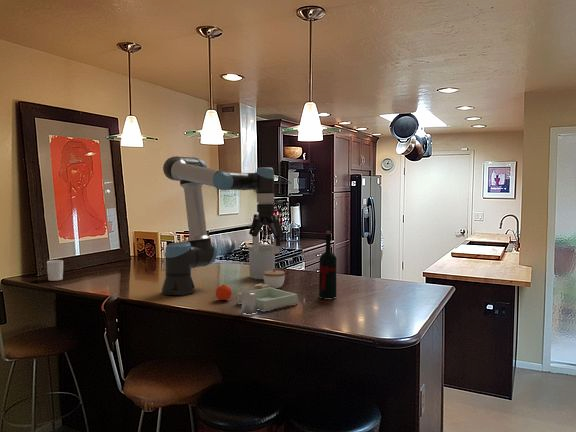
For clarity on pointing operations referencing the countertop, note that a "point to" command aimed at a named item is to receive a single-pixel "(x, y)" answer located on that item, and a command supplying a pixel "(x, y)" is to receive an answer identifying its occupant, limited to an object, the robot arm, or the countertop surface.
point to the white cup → (55, 270)
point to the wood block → (260, 286)
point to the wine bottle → (327, 271)
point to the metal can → (249, 302)
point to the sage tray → (272, 298)
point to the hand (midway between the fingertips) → (266, 252)
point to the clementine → (223, 292)
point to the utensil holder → (261, 260)
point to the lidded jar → (274, 278)
